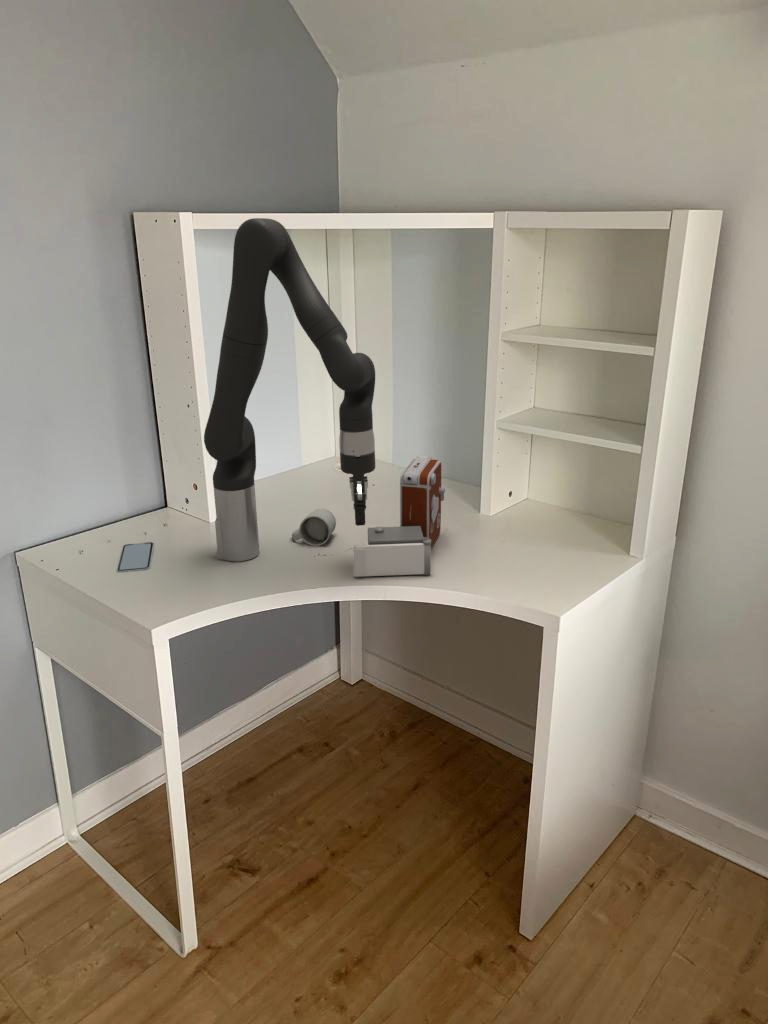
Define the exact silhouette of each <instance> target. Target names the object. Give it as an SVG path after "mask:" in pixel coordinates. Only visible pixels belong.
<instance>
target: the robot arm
mask: <svg viewBox="0 0 768 1024" xmlns="http://www.w3.org/2000/svg"><path fill="white" fill-rule="evenodd" d="M232 255H233V257H232V272H231V274H232V275H231V286H230V293H229V298H228V303H227V310H226V317H225V321H224V328H223V332H222V337H221V343H220V345H221V346H220V351H219V360H218V365H217V366H218V368H217V371H216V372H217V373H216V379H215V381H216V382H215V390H214V396H213V398H212V399H213V400H212V404H211V407H210V412H209V415H208V418H207V422H206V425H205V429H204V434H203V442H204V446H205V450H206V451H207V453H208V454H209V456H210V457H211V458H213V459H214V460H215V461H216V466H215V468H214V471H213V474H212V485H213V496H214V504H215V505H214V507H215V517H216V518H215V521H214V527H215V528H214V529H215V538H216V547H217V558H218V560H224V561H228V562H245V561H248V560H252V559H254V558H256V557H258V555H259V554H260V540H259V527H258V525H259V524H258V513H257V498H256V488H255V487H256V486H255V484H256V483H255V473H256V468H257V453H256V452H257V450H256V449H257V448H256V435H255V429H254V427H253V424H252V423H251V420H249V419H248V417H246V416H245V414H246V409H247V405H248V401H249V399H250V395H251V394H252V392H253V390H254V387H255V384H256V383H257V380H258V378H259V375H260V373H261V370H262V367H263V363H264V360H265V355H266V348H267V345H268V339H269V338H268V336H269V324H268V316H267V312H266V302H265V301H266V289H267V283H268V279H269V274H270V272H271V273H272V274H273V275H274V276H275V277H276V279H277V280H278V281H279V282H280V284H281V285H282V287H283V288H284V289H283V290H284V291H285V293H286V294H287V296H288V299H289V301H290V303H291V306H292V309H293V312H294V314H295V316H296V319H297V320H298V322H299V325H300V327H302V329H303V331H304V332H305V334H306V335H307V337H308V338H309V339H310V341H311V343H312V344H313V345H314V347H315V348H316V349H317V350H318V351H319V355H320V358H321V360H322V362H323V365H324V367H325V370H326V371H327V373H328V376H329V377H330V379H331V380H332V382H333V383H334V384H335V385H336V386H337V387H338V388H339V389H340V390H342V391H343V400H342V401H341V403H340V405H339V409H338V417H339V418H338V419H339V421H338V422H339V437H338V441H339V442H338V445H339V461H340V462H339V463H340V470H341V472H342V473H344V474H346V475H352V476H349V479H348V480H349V488H350V494H351V495H350V497H351V501H352V502H353V511H354V521H355V522H354V523H355V526H357V527H358V526H365V525H366V509H367V505H366V503H367V500H368V488H369V480H368V476H367V475H366V474H369V473H372V472H374V471H375V469H376V444H375V434H374V428H373V427H374V426H373V425H374V424H373V401H374V396H375V389H376V388H375V386H376V368H375V365H374V362H373V360H372V359H371V358H370V356H369V355H367V354H366V353H363V352H354V353H353V352H352V349H351V348H350V346H349V344H348V343H347V340H348V333H347V330H346V329H345V327H344V326H343V324H342V322H341V321H340V319H339V318H338V316H337V315H336V314H335V313H334V311H333V310H332V308H331V307H330V305H329V304H328V303H327V301H326V300H325V298H324V297H323V295H322V294H321V292H320V291H319V289H318V287H317V286H316V284H315V282H314V281H313V279H312V277H311V276H310V273H309V272H308V270H307V268H306V266H305V265H304V262H303V260H302V259H301V257H300V255H299V253H298V250H297V249H296V246H295V244H294V242H293V240H292V238H291V236H290V234H289V233H288V230H287V229H286V227H285V226H284V225H283V224H282V223H281V222H279V221H277V220H275V219H273V218H261V217H257V218H254V217H253V218H249V219H247V220H245V221H243V223H242V222H241V224H240V225H239V227H238V229H237V230H236V233H235V236H234V243H233V254H232Z"/></svg>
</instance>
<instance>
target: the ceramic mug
mask: <svg viewBox="0 0 768 1024" xmlns="http://www.w3.org/2000/svg"><path fill="white" fill-rule="evenodd" d="M336 526H337V520H336V517H335V515H334V513H333V512H332V511H330V510H329V509H326V508H321V507H320V508H317V509H314V510H313V511H311V512H310V513H308V515H306V517H304V518H303V519H302V521H301V522H300V524H299V527H298V528H297V529H295V530H294V531H293V532H292V533H291V534H290V535H291V537H292V539H293V540H294V541H298V540H301V539H302V541H303V542H305V544H308V545H310V546H314V547H319V546H323V545H324V544H326V543H327V542H328V540H330V538H331V536H332V534H333V533H334V531H335V530H336Z"/></svg>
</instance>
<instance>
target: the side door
mask: <svg viewBox="0 0 768 1024" xmlns="http://www.w3.org/2000/svg"><path fill="white" fill-rule="evenodd" d="M352 547H353V548H352V549H353V551H352V552H353V577H379V576H380V577H381V576H385V577H386V576H405V575H406V576H407V575H408V576H409V575H425V576H429V575H431V555H432V553H431V551H432V549H431V544H423V543H408V544H380V545H368V544H359V545H358V544H356V545H353V546H352Z"/></svg>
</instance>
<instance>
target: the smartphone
mask: <svg viewBox="0 0 768 1024" xmlns="http://www.w3.org/2000/svg"><path fill="white" fill-rule="evenodd" d="M154 550H155V542H153V541H149V542H138V543H135V542H134V543H127V544H123V545H122V548H121V552H120V555H119V559H118V564H117V568H116V572H117V573H129V572H128V571H131V572H138V571H139V572H141V571H148V570H150V569H151V565H152V561H153V555H154V552H155V551H154ZM140 570H141V571H140Z"/></svg>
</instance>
